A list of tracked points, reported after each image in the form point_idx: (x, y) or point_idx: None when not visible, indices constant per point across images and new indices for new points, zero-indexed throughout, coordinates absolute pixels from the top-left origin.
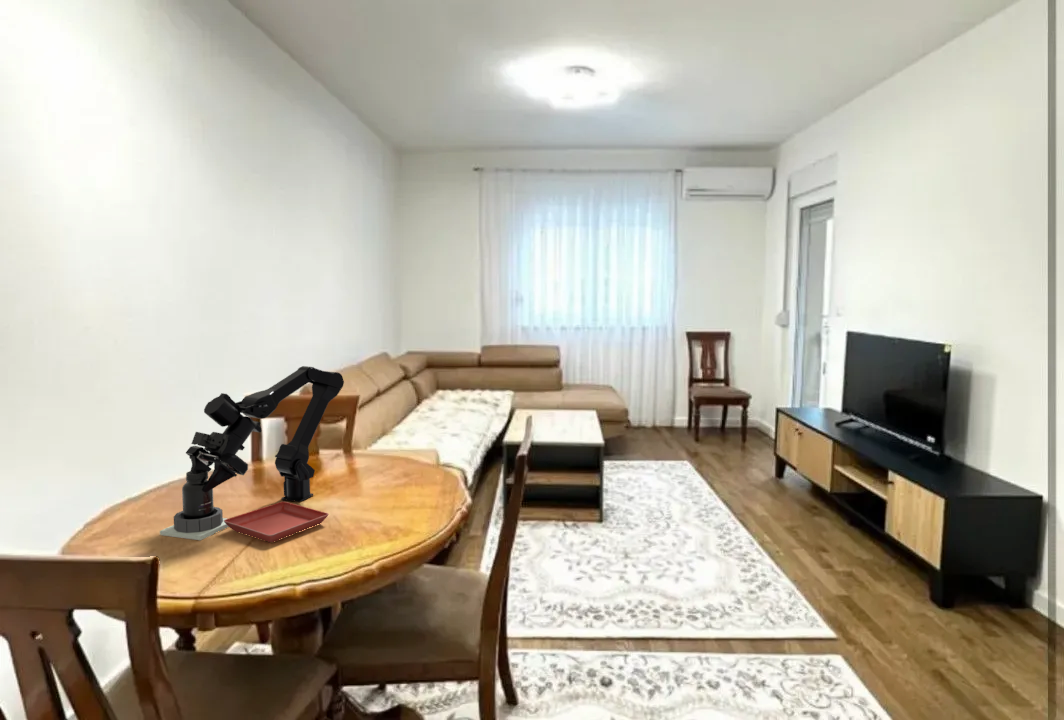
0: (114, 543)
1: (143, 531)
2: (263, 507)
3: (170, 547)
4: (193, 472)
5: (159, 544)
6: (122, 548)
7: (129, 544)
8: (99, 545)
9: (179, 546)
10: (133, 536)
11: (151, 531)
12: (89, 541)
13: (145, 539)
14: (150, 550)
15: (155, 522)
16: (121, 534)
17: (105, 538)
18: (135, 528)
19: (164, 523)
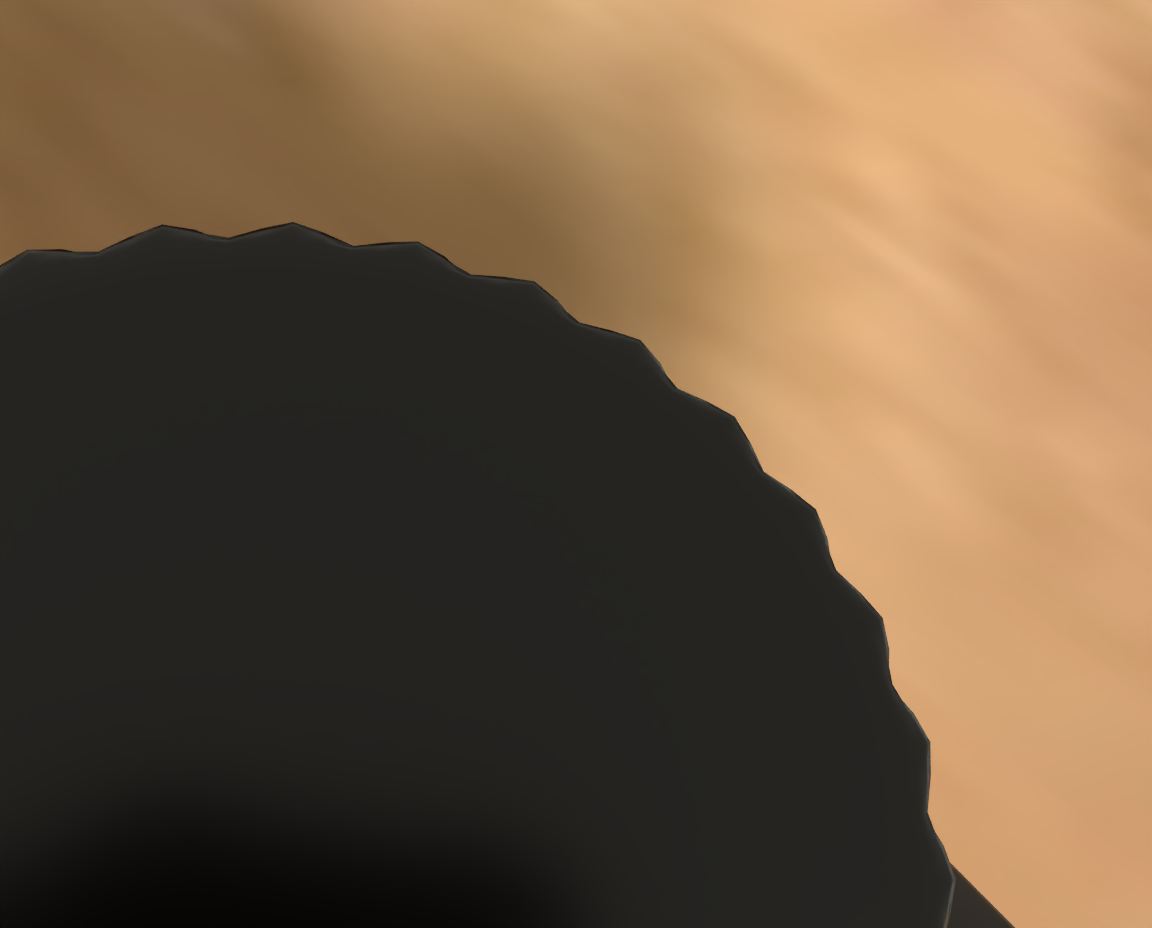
0: (861, 81)
1: (950, 441)
2: None
3: (148, 169)
4: (377, 667)
5: (370, 199)
6: (650, 7)
7: (693, 103)
8: (936, 5)
9: (59, 225)
10: (889, 285)
11: (867, 476)
12: (1124, 53)
13: (676, 262)
14: (304, 42)
15: (1142, 737)
16: (1063, 286)
17: (1081, 152)
18: (1127, 478)
19: (1008, 762)
